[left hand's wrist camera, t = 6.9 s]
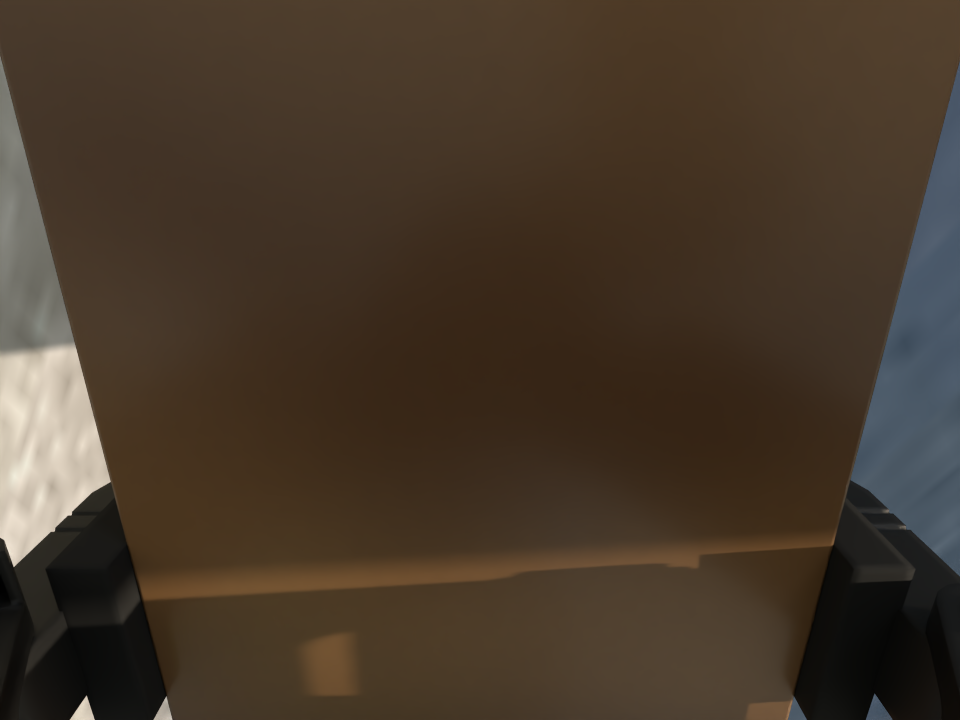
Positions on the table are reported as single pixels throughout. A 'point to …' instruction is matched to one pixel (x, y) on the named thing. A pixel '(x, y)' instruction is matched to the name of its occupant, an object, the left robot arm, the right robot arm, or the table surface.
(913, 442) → the table surface
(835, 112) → the wooden beam
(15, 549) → the table surface
